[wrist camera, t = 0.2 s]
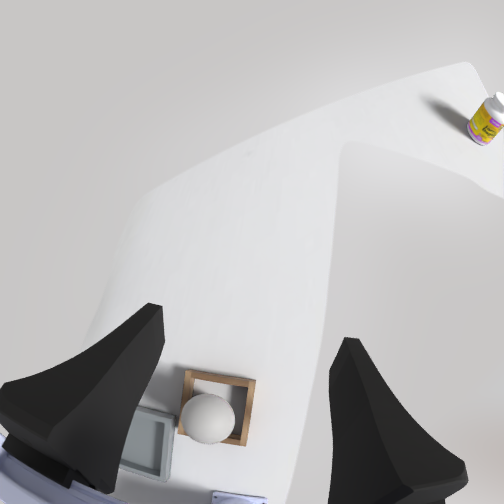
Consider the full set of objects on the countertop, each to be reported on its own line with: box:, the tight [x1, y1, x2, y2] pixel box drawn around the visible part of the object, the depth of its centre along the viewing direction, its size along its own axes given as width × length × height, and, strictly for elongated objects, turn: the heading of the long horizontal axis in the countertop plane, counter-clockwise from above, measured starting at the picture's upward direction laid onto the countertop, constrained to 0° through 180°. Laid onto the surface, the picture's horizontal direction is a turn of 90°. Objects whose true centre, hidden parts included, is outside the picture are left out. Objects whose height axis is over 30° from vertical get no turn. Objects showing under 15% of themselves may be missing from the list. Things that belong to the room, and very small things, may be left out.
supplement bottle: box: [467, 92, 504, 145], centre depth 45 cm, size 7×7×13 cm
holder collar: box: [178, 369, 256, 446], centre depth 37 cm, size 9×9×2 cm
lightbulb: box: [181, 394, 235, 444], centre depth 33 cm, size 6×6×11 cm
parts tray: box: [119, 406, 176, 482], centre depth 36 cm, size 11×11×2 cm
